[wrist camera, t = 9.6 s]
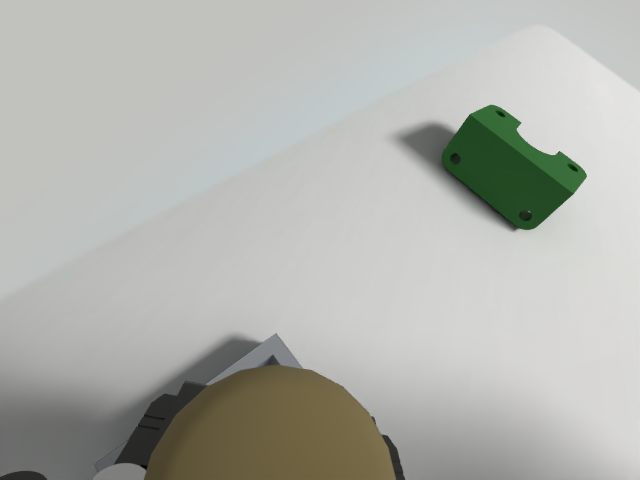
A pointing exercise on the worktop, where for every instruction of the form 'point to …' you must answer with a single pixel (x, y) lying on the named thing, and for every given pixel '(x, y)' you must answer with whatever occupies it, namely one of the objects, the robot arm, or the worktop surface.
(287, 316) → the worktop surface
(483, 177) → the clamp
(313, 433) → the cork
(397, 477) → the robot arm
